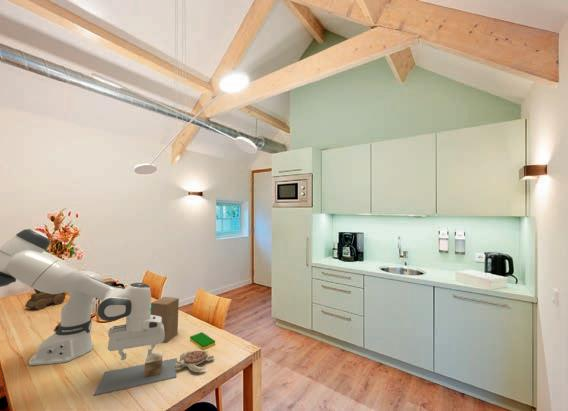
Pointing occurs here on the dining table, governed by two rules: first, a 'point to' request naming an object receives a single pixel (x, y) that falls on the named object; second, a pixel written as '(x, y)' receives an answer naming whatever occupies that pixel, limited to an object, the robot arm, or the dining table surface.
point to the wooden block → (167, 315)
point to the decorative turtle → (193, 360)
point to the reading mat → (133, 377)
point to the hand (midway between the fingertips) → (137, 356)
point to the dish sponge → (202, 341)
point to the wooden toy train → (44, 299)
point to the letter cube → (153, 364)
